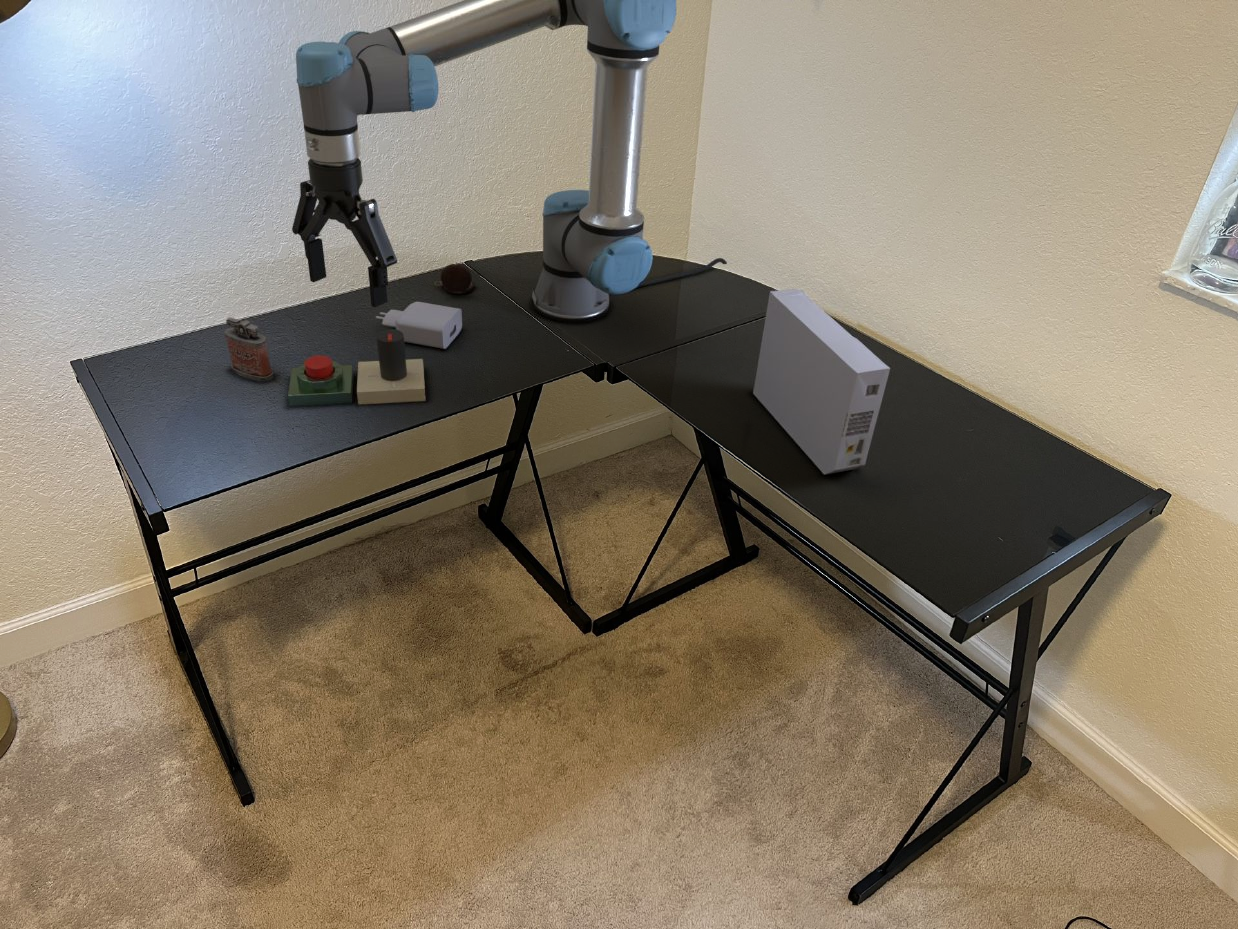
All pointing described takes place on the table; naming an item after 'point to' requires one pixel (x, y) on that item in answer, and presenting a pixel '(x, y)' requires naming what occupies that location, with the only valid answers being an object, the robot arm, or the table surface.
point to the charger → (426, 323)
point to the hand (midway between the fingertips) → (348, 291)
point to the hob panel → (390, 384)
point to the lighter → (248, 350)
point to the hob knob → (391, 354)
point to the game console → (819, 382)
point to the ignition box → (321, 387)
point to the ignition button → (319, 367)
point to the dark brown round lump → (456, 279)
